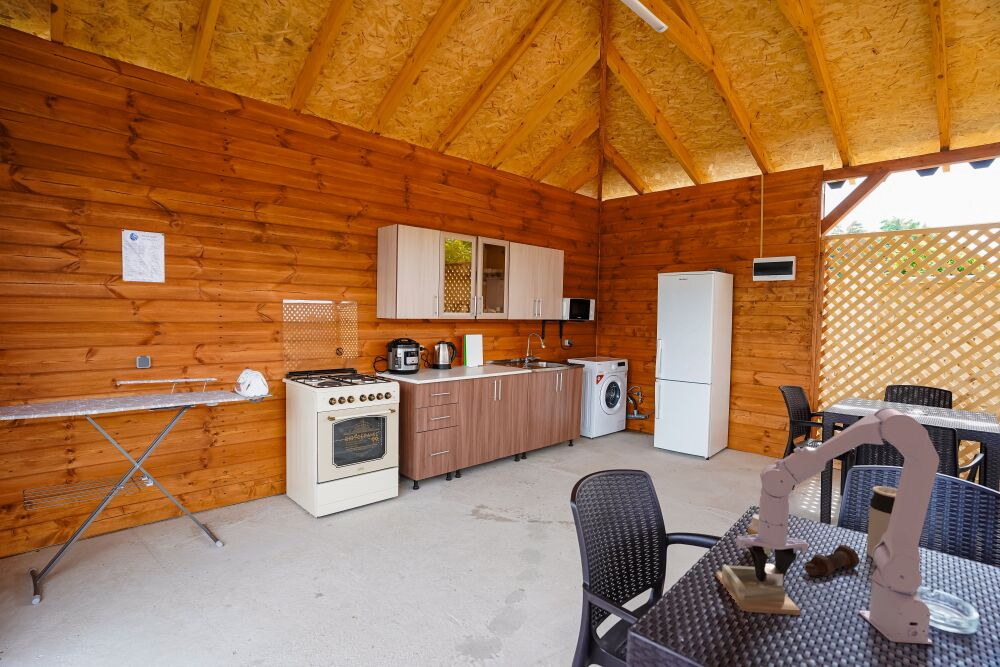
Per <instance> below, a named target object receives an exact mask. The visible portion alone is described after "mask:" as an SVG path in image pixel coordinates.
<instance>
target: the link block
mask: <svg viewBox="0 0 1000 667" xmlns="http://www.w3.org/2000/svg"><path fill="white" fill-rule="evenodd" d="M756 584H759V585H777V586H783V584H784V579H783V574H782V573H781V572H780V571H779V570H778V569H777V568H776V567H775V564H774V563H766V565H765V574H764V581H763V582H760V581H759V580H758V579H757V577H756Z"/></svg>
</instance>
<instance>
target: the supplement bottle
mask: <svg viewBox="0 0 1000 667" xmlns="http://www.w3.org/2000/svg"><path fill="white" fill-rule="evenodd" d="M751 516H752V518H751V521H752V522H750V523H749V525H748V534H747V535H755V534H758V522H759V514H757V513H756V514H752V515H751ZM763 550H765V554H766V555H767V556H768V558H769V557H770V556H771V552H772V551H771V550H772V549H770V548H763ZM747 551H748V552H749V549H748V548H747ZM749 554H750V552H749Z"/></svg>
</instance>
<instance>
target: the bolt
mask: <svg viewBox="0 0 1000 667" xmlns="http://www.w3.org/2000/svg"><path fill="white" fill-rule="evenodd" d="M860 562H861V561H860V557H859V555H858V553H857V552H856V550H855V549H854V548H853V547H850V546H848V545H845V544H839V545H838V546H837V547H836V549H835V550H834V551H833V553H831V554H828V555H822V554H820V553H818V554H815V555H813V557H812V558H811V559H810V560H809V561H807V562H805V563H804V570H805V572H806V573H807V574H808V575H810V576H813V577H814V576H823V577H828V576H830V575H831V574H832V573H833V572H834V571H835V570H837V569H839V568H842V567H844V568H847V569H849V570H853V569H856V567H858V565H859V564H860Z"/></svg>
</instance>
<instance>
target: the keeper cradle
mask: <svg viewBox="0 0 1000 667" xmlns="http://www.w3.org/2000/svg"><path fill="white" fill-rule="evenodd" d="M715 576H716V578H717V579H718V581H719V580H720V581H719V582H720V584H723V585H722V586H723V587H724V589H725V588H726V589H725V590H726V591H728V592H729V593H728V592H727V593H728V594H729V596H730V595H731V596H732V597H731V596H730V597H731V599H734V600H735V601H734V600H733V601H734V603H735V604H736V603H737V604H736V605H737V607H738V606H739V607H740V608H739V607H738V608H739V609H740V611H741V610H742V611H741V612H744V611H746V612H745V613H747V612H748V613H760V614H761V613H764V614H778V615H779V614H780V615H796V616H800V615H801V612H802V611H801V609H800V607H798V606H797V605H796V603H795V602H794V601H793V600H792V599H791V598H790V597H789V596H788V595H787V594H786V588H785V587H784V586H783V585H782V586H777V585H759V584H756V572H755V567H754V566H745V565H728V564H727V565H726V564H723V565H722V570H721V571H716V573H715Z"/></svg>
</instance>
